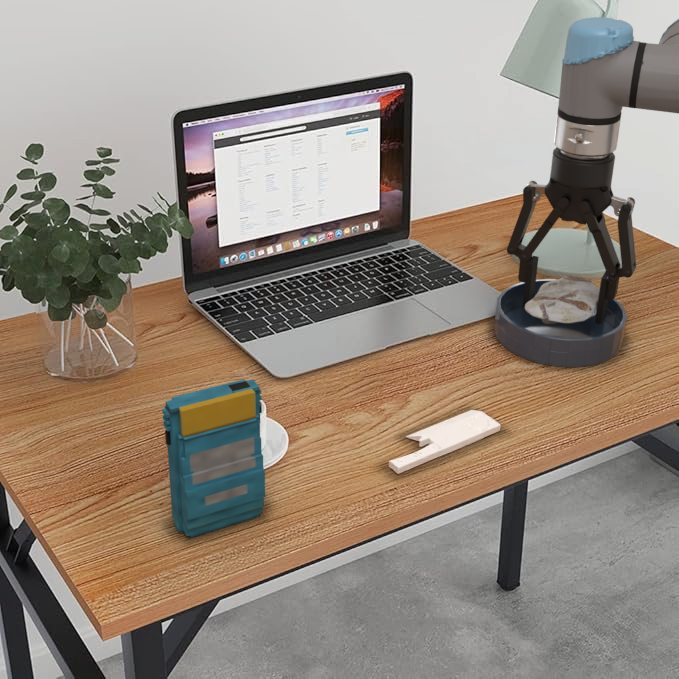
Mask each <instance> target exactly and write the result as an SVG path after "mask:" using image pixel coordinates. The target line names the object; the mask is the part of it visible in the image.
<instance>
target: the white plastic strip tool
mask: <svg viewBox="0 0 679 679" xmlns="http://www.w3.org/2000/svg"><path fill="white" fill-rule="evenodd" d="M501 426H502V425H501V424H500V423H499V421H497V420H495V419H494V417H491V416H489V415H487V413H485V412H483V411H482V410H475V409H469V410H467V411H465V412H463V413H460V414H458V415H456V416H453V417H450V418H448V419H446V420H442V421H441V422H438V423H435V424H434V425H431V426H428V427H426V428H423V429H420V430H418V431H416V432H413V433H411V434H408V435H406V436H405V438H407V439H410V440H413V441H417V442H418V446H419V448H421V449H419V450H415V451H414V452H412V453H409V454H407V455H403V456H400V457H397V458H394V459H391V460H388V467H389V468H390V469H391V470H392V471H394V472H395V473H396V474H397V475H399V474H402V473H404V472H407V471H409V470H411V469H413V468H415V467H418V466H421V465H422V464H425V463H428V462H430V461H432V460H435V459H437V458H439V457H442V456H444V455H447V454H449V453H452V452H454V451H456V450H457V451H458V449H462V448H464V447H466V446H469V445H471V444H473V443H476V442H479V441H481V440H482V439H484V438H486V437H488V436H490V435H493V434H495V433H498V432H501ZM424 446H425V447H424ZM422 447H423V448H422Z"/></svg>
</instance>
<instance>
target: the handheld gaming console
mask: <svg viewBox="0 0 679 679" xmlns="http://www.w3.org/2000/svg"><path fill="white" fill-rule="evenodd" d="M261 394H262V389H261V388H260V386H259V384H258V383H257V382H256V381H255V380H254V378H252V379H248V380H246V379H244V378H243V379H240V380H236V381H235V380H234V381H231V382H227V383H223V384H219V385H215V386H212V387H208V388H204V389H200V390H196V391H192V392H188V393H184V394H180V395H176V396H173V397H171V399H169V400H165V402H164V403H165V405H164V408H161V412H162V414H163V415H162V420H163V422H162V426H163V427H164V429H165V430H164V436H165V444H166V446H167V458H168V459H167V460H168V461H167V462H168V473H169V489H170V490H169V491H170V501H171V502H170V503H171V518H172V519H173V525H174V528H175V529H176V531H177V532H178V535H179V534H184V535H185V536H186V537H189V538H190V539H192V538H195V537H198V536H203V535H205V534H208V533H212V532H215V531H218V530H221V529H225V528H227V527H231V526H234V525H237V524H240V523H243V522H247V521H251V520H253V519H256V518H259V517H260V514H263V507H265V498H266V469H265V468H264V455H263V453H262V437H261V414H262V412H263V408H262V406H263V405H262V402H261V401H262V396H261Z"/></svg>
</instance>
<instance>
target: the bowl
mask: <svg viewBox="0 0 679 679" xmlns="http://www.w3.org/2000/svg"><path fill="white" fill-rule="evenodd" d="M553 280H557V279H554V278H548V279H546V278H544V279H543V278H542V279H541V278H540V279H536V284H535V293H534V297H535V295H536V294H537V293H538V290H539V289H540V287H541V286H542V285H543V284H544V283H547V282H549V281H553ZM524 289H525V283H524V282H518V283H515V284H512V285H510V286H508V287H506V288H505V289H504V290H502V291H501V292H500V294H499V295H498V296H497V298H496V307H495V317H494V323H493V324H494V325H493V330H494V331H493V332H494V336H495V337H496V340H498V342H499V343H500V344H501V345H502V346H503V347H504V348H505V349H507V350H508V351H509V352H511V353H513V354H515V355H516V356H518V357H520V358H523V359H524V360H527V361H531V362H534V363H536V364H540V365H546V366H552V367H560V368H583V367H591V366H595V365H599V364H602V363H605V362H607V361H609V360H611V359H612V358H614V357H615V356H616V355H617V354H618V353H619V352H620V350H621V348H622V345H623V343H624V338H625V332H626V327H627V322H628V320H627V319H628V317H627V310H626V309H625V307H624V306H623V304H622V302H620V301H619V300H618V299H616V297H615V298H614V299H613V301H611V300H608V301H607V308H606V315H605V317H604V319H603V321H602V323H601V324H597V323H595V319H596V314H595V316H593V317H590V318H589V319H587V320H585V321H582V322H575V323H559V322H558V323H555V324H545V323H543V322H542V320H541V319H540V318H537V317H534V316H532V315H531V314H529V313H527V311H526V310H525V308H523V298H524Z"/></svg>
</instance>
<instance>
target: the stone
mask: <svg viewBox="0 0 679 679" xmlns="http://www.w3.org/2000/svg"><path fill="white" fill-rule="evenodd" d="M599 291H600V287H598V286H597V285H594V284H593V282H592V280H591V279H589V278H585V277H580V276H576V275H569V274H564V275H562V277H560V278H558V279H556V280H553V281H549V282H547V283H544V284H543V285H542V286H541V287H540V289H539V290H538V293H537V294H536V295H535V297H534V298H533V299H531V300H530V301H528V302H527V303H526V304H525V310H526V311H527V313H529V314H531V315H532V316H534V317H537V318H540V319H541V320H542V322H543V323H545V324H555V323H558V322H559V323H575V322H582V321H585V320H587V319H589V318H590V317H593V316H595V314H596V312H597V305H598V298H599Z"/></svg>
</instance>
